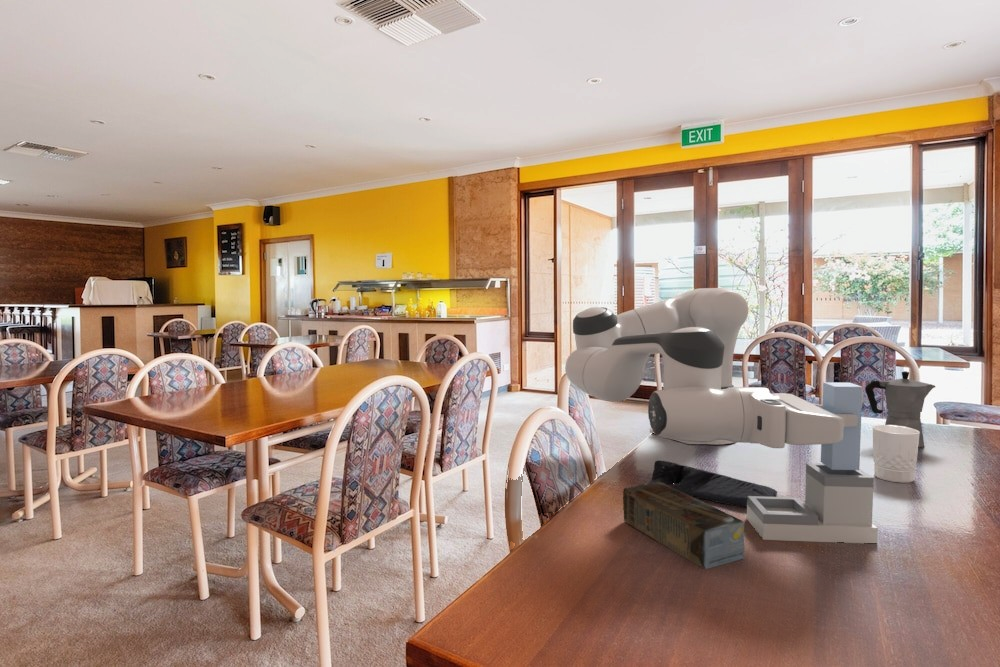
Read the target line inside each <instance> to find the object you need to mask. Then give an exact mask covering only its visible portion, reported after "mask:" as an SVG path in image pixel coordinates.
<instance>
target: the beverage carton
mask: <svg viewBox="0 0 1000 667" xmlns="http://www.w3.org/2000/svg"><path fill="white" fill-rule="evenodd" d="M648 483H649V482H648ZM622 496H623V498H622V503H623V504H622V505H623V506H622V507H623V508H622V509H623V521H624V523H626V524H627V525H629V524H630V526H631V527H632V528H633V527H634V528H635V529H637V530H638V531H640V532H641V533H643V534H645V535H646V536H647V537H649V538H652V539H653V540H655V541H656V542H658V543H659V544H662V545H663V546H664V545H665V546H664V547H666V546H667V547H666V548H668V549H669V550H672V551H673V552H674V553H676V554H678V555H680V556H682V557H683V558H685V559H686V560H689V561H690V562H692V563H694V564H696V565H697V566H699V567H700V568H702V569H705V570H708V569H711V568H714V567H717V566H721V565H722V566H723V565H726V564H730V563H733V562H737V561H740V560H743V559H744V556H745V555H744V554H745V553H744V552H745V534H744V533H745V522H744V521H743V520H742V519H739V518H737V517H735V516H733V515H732V514H729V513H727V512H724V511H723V510H721V509H719V508H718V507H717V508H716V507H714V506H713V505H711V504H709V503H706V502H704V501H703V500H700V499H698V498H697V497H694V496H689V495H687V494H685V493H683V492H681V491H679V490H677V489H675V488H673V487H670V486H668V485H666V484H664V483H661V482H659V481H657V482H653V483H649V484H647V483H643V484H639V485H636V486H629V487H624V488H623V490H622Z"/></svg>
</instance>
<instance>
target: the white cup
mask: <svg viewBox="0 0 1000 667" xmlns="http://www.w3.org/2000/svg"><path fill="white" fill-rule="evenodd" d="M919 435H920V432H919V431H918V430H915V429H912V428H908V427H902V426H893V425H885V424H880V425H879V424H878V425H874V426H873V427H872V451H873V452H872V453H873V454H872V455H873V456H872V457H873V458H872V459H873V465H874V466H873V467H874V469H873V471H874V476H875V477H877V478H878V479H880V480H883V481H888V482H892V483H903V484H907V483H913V482H914V481H915V472H916V469H917V461H918V452H919V448H918V445H919Z"/></svg>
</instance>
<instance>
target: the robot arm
mask: <svg viewBox="0 0 1000 667" xmlns="http://www.w3.org/2000/svg"><path fill="white" fill-rule="evenodd" d="M748 316H749V305H748V303H747V300H746V298H745V297H744V296H743V295H741V294H740V293H738V292H736V291H734V290H732V289H729V288H727V287H726V288H725V287H705V288H704V287H702V288H701V287H700V288H695V289H692V290H689V291H686V292H683V293H680V294H678V295H675V296H672V297H669V298H667V299H664V300H661V301H659V302H655V303H651V304H648V305H647V304H646V305H644V306H642V307H637V308H634V309H631V310H627V311H623V312H622V313H619V314H617V315H616V314H614V312H613V311H612V310H611V309H608V308H607V307H602V306H600V307H599V306H595V307H594V306H593V307H589V308H586V309H584V310H582V311H580V312H578V313H577V314H576V315H575V317H574V318H573V320H572V333H573V334H574V340H575V348H576V349H575V350H573V351H572V352H571V353H570V355H569V356H568V358H567V359H566V363H565V366H564V367H565V370H564V371H565V375H566V377H567V379H568V380H569V382H570V383H571V384H572V385H573V386H574V387H576V388H577V389H578V390H580V391H582V392H583V393H585V394H587V395H589V396H591V397H593V398H596V399H597V400H601V401H605V402H610V403H618V402H619V403H620V402H623V401H625V400H627V399H628V398H630V397H631V396H632V395H634V394H635V393H636V392H637V390H638V389H639V387H640V385H641V384H642V381H643V378H644V373H645V372H644V371H645V368H646V364H647V361H648V359H649V357H650V356H651V355H653V354H655V355H657V354H661V356H662V361H663V362H662V363H663V374H662V375H663V379H662V380H663V381H662V388H663V389H659V390H654V391H653V392H652V393H651V395H650V397H649V399H648V404H647V414H648V421H649V424H650V428H649V433H651V434H653V432H654V434H653V435H656V437H660V438H663V439H669V440H674V441H677V442H680V443H683V444H687V445H727V444H734V443H745V444H746V443H748V444H755V445H756V444H758V445H762V446H765V447H768V448H772V449H784V448H785V446H786V445H792V446H813V445H817V446H818V445H821V444H833V443H837V442H840V441H842V440H843V430H844V427H845V426H848V427H855V426H857V424H858V417H857V415H854V414H852V413H841V414H833V413H831V412H829V411H827V410H824V409H822V404H818V403H812V402H810V401H808V400H805V399H803V398H802V397H799V396H797V395H794V394H792V393H785V392H784V393H782V392H781V393H776V392H775V393H771V391H770V390H769V389H768V388H767V387H765V386H734V384H733V363H734V353H735V347H736V343H737V340H738V336H739V333H740V329H741V328H742V326H743V325H744V324H745V322H746V321H747V318H748Z"/></svg>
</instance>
